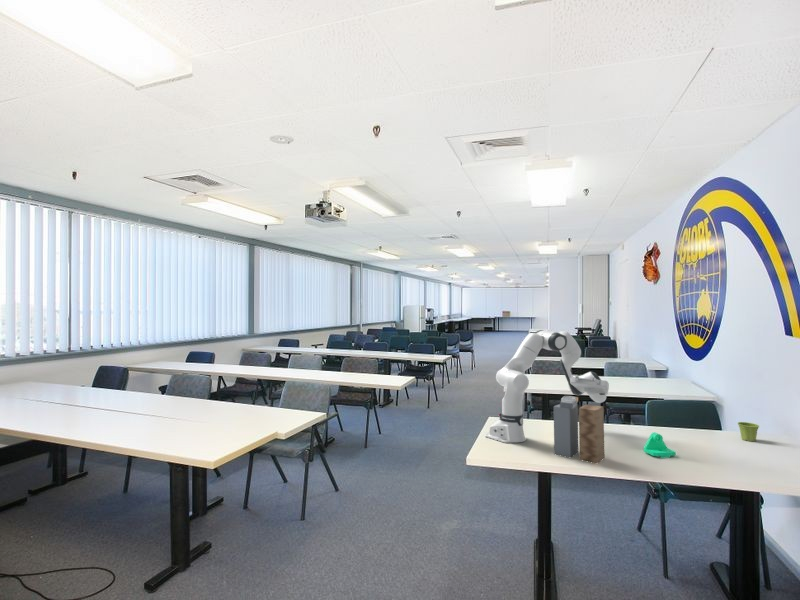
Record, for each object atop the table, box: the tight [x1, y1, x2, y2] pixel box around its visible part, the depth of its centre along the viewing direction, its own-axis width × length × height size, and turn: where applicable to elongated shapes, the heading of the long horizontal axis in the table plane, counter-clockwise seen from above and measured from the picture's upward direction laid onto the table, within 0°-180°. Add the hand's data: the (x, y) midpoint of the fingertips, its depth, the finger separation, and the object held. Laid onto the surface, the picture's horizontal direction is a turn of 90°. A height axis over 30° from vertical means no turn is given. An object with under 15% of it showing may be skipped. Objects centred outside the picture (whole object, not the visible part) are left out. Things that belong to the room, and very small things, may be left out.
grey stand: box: [553, 403, 580, 458], centre depth 215 cm, size 8×11×24 cm
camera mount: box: [643, 432, 676, 459], centre depth 211 cm, size 12×8×10 cm, turn 97°
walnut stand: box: [578, 404, 605, 464], centre depth 206 cm, size 8×11×25 cm
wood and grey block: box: [559, 395, 579, 409], centre depth 218 cm, size 6×20×4 cm, turn 145°
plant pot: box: [737, 421, 760, 442], centre depth 234 cm, size 9×9×9 cm
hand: (585, 378), depth 236 cm, fingers open, 8 cm apart
